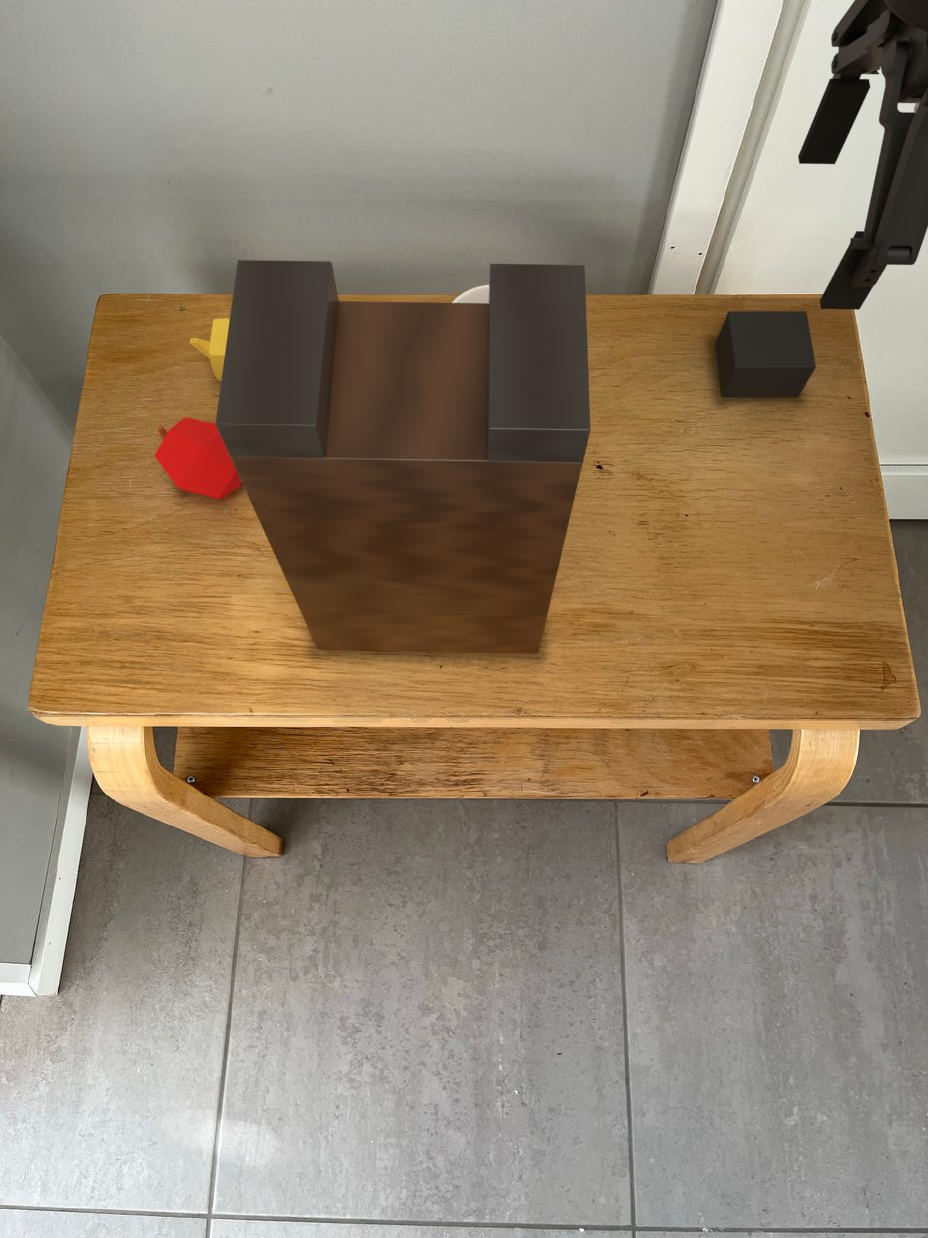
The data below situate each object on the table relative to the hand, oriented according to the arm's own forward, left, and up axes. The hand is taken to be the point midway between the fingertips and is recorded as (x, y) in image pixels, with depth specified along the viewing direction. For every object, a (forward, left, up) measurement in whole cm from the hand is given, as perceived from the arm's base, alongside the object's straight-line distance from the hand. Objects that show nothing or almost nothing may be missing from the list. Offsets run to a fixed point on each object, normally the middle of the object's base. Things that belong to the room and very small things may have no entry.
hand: (827, 230), depth 67 cm
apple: (+31, +39, -18) cm, 53 cm away
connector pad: (0, -1, -18) cm, 18 cm away
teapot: (+37, +29, -18) cm, 50 cm away
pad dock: (+9, +35, -18) cm, 41 cm away
